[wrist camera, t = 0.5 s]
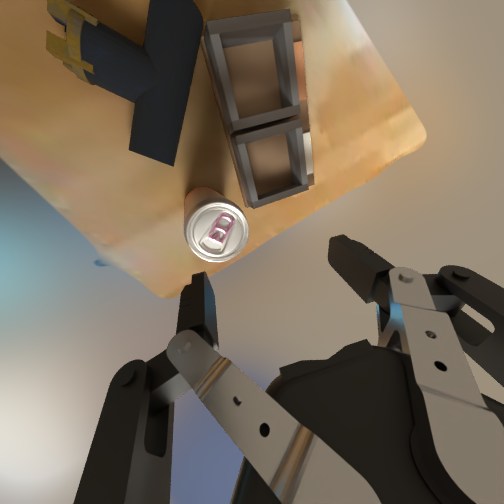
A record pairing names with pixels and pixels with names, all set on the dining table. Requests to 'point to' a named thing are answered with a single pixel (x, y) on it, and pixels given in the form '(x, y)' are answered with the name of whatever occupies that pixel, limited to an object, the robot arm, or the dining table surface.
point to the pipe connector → (137, 66)
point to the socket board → (262, 102)
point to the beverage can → (214, 225)
